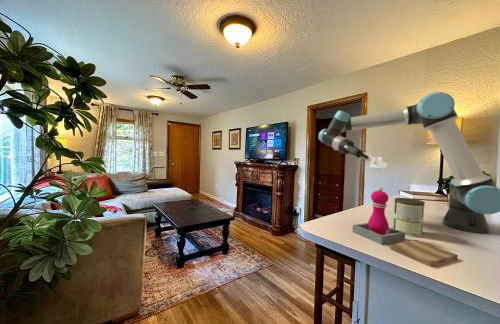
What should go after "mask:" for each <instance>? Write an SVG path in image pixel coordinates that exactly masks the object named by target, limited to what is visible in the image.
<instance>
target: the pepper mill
mask: <svg viewBox="0 0 500 324" xmlns="http://www.w3.org/2000/svg"><path fill="white" fill-rule="evenodd" d="M370 198H371V201H372V202H371V206H372V208H373V211H372V214H371V216H370V217H369V219H368V220H367V223H368V226H369V228H370V230H369V231H372V232H374V233H377V234H380V235H386V234H387V233H386V231H387V230H388V229H389V227H390V225H389V222H388V220H387V218H386V214H385V213H386V212H385V209H386V208H387V202H388V201H389V196H388V194H387V192H385V191H383V187H381V186H380V187H378V188H377V190H374V191H372V193H371V194H370Z"/></svg>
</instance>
